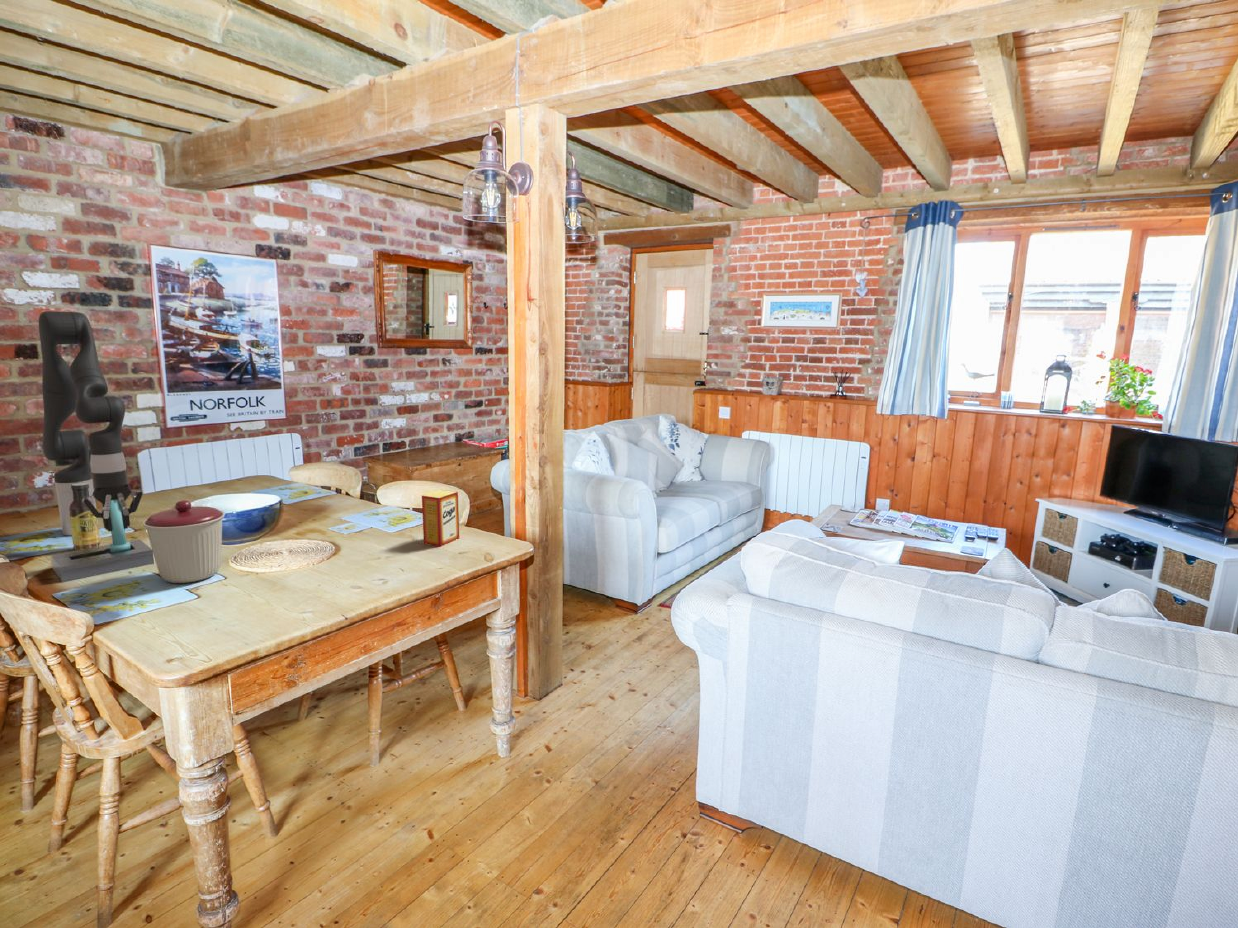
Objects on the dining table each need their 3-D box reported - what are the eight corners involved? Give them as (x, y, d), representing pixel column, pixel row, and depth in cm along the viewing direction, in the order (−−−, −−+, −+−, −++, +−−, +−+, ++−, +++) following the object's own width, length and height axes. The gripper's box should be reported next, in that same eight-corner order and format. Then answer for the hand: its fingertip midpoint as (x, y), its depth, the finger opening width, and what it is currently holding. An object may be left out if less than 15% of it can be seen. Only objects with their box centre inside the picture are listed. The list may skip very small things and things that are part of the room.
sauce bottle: (85, 552, 190) (75, 487, 186) (68, 550, 191) (58, 485, 188) (106, 545, 196) (97, 482, 193) (90, 544, 198) (80, 481, 194)
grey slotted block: (53, 568, 177) (50, 555, 176) (141, 551, 192) (139, 539, 191) (62, 582, 168) (60, 567, 167) (154, 563, 182) (152, 549, 182)
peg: (108, 550, 182) (101, 499, 179) (128, 546, 185) (121, 496, 182) (112, 553, 179) (105, 502, 176) (132, 549, 182) (125, 499, 179)
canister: (173, 594, 161) (163, 513, 157) (136, 580, 170) (125, 503, 166) (244, 572, 177) (237, 498, 172) (207, 560, 185) (199, 489, 181)
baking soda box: (443, 535, 212) (441, 488, 209) (459, 538, 210) (457, 490, 206) (423, 543, 204) (421, 494, 200) (440, 546, 201) (438, 497, 198)
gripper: (136, 464, 185) (144, 521, 188) (73, 470, 175) (82, 532, 178) (143, 467, 180) (151, 526, 183) (79, 474, 170) (88, 537, 173)
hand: (117, 529), depth 181 cm, fingers closed on peg, 3 cm apart
